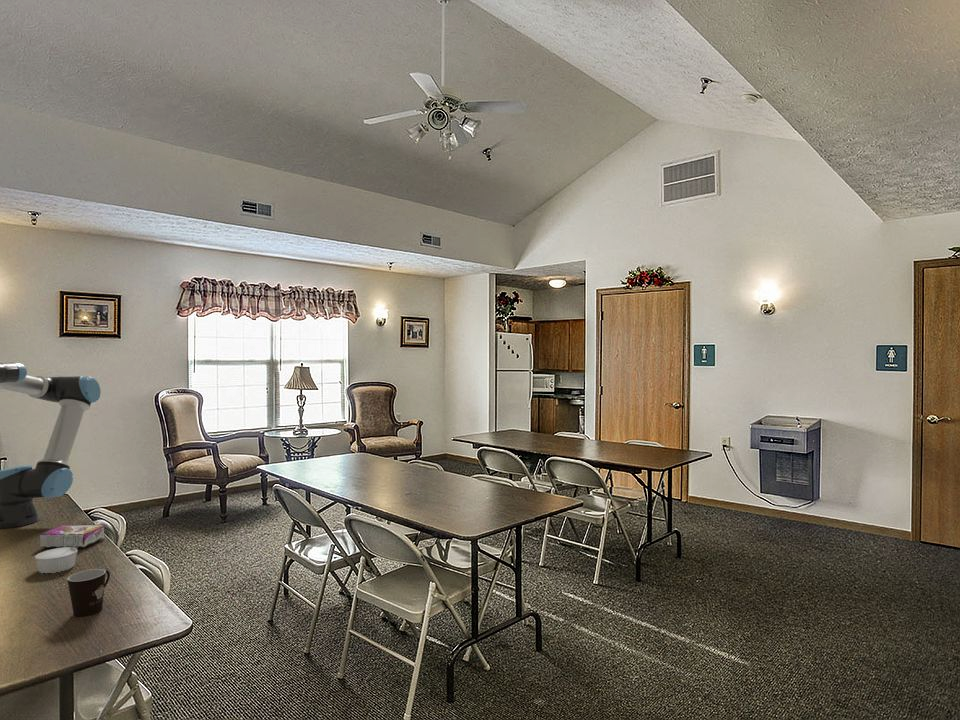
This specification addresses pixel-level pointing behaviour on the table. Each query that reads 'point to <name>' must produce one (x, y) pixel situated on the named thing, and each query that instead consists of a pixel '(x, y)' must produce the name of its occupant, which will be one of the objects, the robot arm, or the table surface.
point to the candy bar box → (72, 536)
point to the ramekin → (56, 560)
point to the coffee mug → (87, 591)
